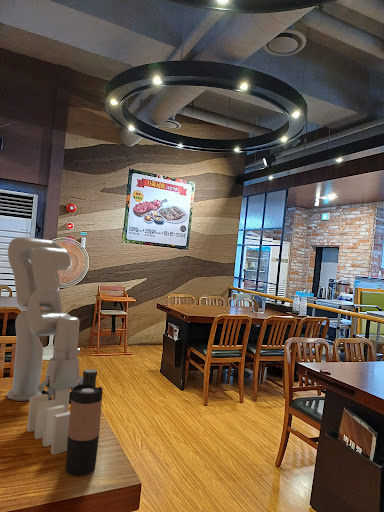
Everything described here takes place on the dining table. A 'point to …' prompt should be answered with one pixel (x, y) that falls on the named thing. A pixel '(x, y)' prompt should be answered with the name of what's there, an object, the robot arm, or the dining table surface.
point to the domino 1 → (34, 410)
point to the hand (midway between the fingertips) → (60, 406)
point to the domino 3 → (62, 398)
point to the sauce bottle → (89, 377)
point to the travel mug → (83, 429)
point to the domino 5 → (60, 433)
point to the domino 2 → (42, 416)
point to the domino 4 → (50, 423)
